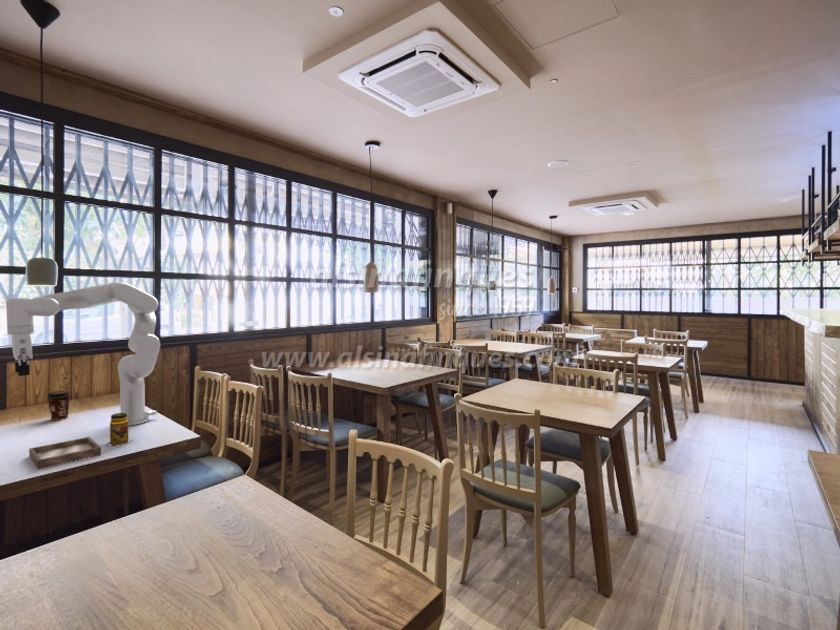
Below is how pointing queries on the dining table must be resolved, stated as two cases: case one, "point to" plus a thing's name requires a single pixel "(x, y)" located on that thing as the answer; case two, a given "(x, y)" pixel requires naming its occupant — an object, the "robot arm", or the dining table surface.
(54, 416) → the coffee cup
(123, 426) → the condiment
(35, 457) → the tray
